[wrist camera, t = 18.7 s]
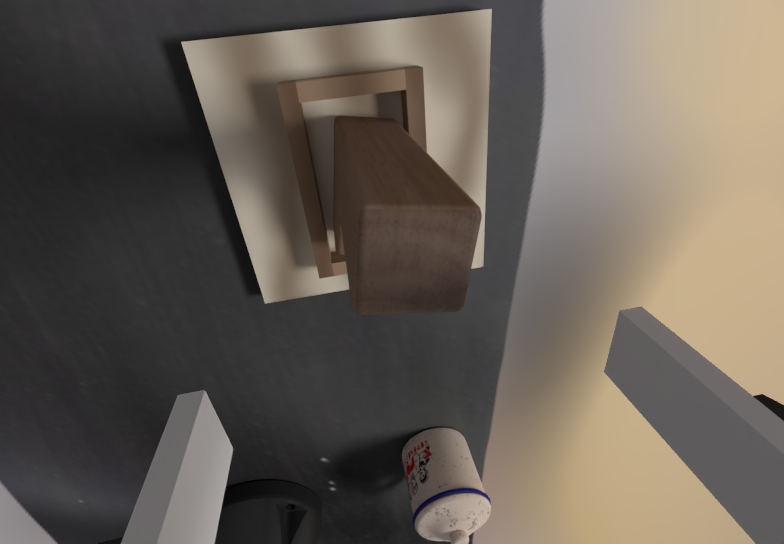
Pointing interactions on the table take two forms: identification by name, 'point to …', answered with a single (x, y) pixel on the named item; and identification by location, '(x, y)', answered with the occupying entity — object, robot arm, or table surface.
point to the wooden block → (399, 221)
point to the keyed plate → (316, 126)
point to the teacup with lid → (444, 486)
